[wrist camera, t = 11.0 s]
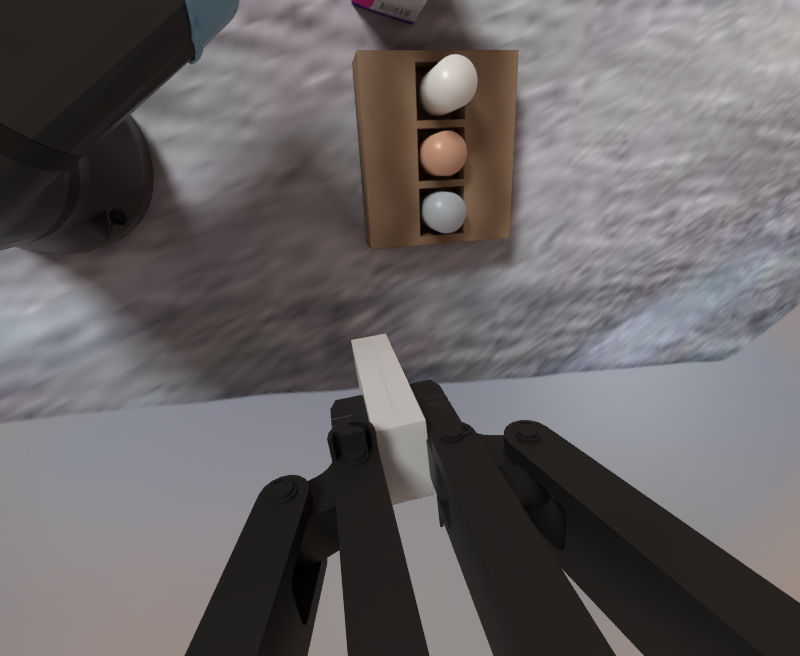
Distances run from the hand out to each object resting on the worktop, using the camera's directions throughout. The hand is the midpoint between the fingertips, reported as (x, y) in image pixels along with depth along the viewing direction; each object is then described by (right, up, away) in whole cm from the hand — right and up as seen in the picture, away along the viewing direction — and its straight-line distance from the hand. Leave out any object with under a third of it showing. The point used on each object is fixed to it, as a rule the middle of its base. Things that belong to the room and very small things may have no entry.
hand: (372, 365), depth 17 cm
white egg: (+5, +22, +17) cm, 28 cm away
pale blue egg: (+5, +14, +23) cm, 27 cm away
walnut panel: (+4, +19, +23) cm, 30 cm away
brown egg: (+4, +18, +21) cm, 28 cm away
